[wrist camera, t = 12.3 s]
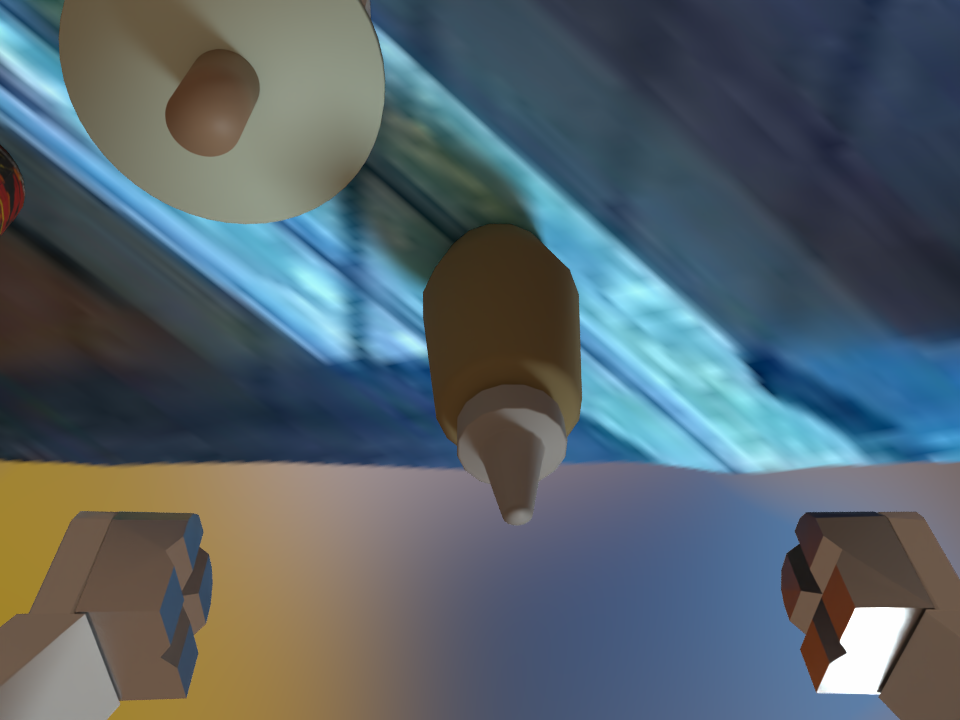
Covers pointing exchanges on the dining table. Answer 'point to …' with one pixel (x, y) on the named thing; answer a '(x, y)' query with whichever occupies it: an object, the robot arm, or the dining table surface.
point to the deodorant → (9, 190)
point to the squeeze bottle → (504, 359)
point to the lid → (227, 98)
